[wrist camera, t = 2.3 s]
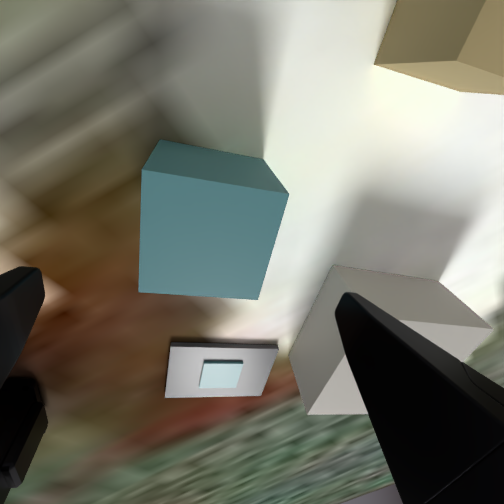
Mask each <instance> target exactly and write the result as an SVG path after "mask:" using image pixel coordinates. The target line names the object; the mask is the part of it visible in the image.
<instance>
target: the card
mask: <svg viewBox="0 0 504 504" xmlns="http://www.w3.org/2000/svg"><path fill="white" fill-rule="evenodd" d="M278 350H279V348H278V345H261V344H222V343H182V342H171V348H170V357H169V366H168V375H167V384H166V393H165V398H179V397H226V396H261V394H262V391H263V389H264V386H265V383H266V381H267V378H268V376H269V373H270V371H271V368H272V365H273V363H274V360H275V358H276V355H277V353H278Z"/></svg>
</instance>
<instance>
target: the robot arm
mask: <svg viewBox="0 0 504 504" xmlns="http://www.w3.org/2000/svg"><path fill="white" fill-rule="evenodd" d="M44 298H45V290H44V284H43V279H42V273H41V271H40V269H38V268H36V267H24V266H21V267H17V268H15V269H13V270H10V271H8V272H6V273H3V274H1V275H0V504H4V502H5V500H6V498H7V495H8V493H9V491H10V489H11V488H17V487H18V486H19V485H20V484H22V482H23V480H24V478H25V475H26V473H27V471H28V468H29V466H30V464H31V461H32V459H33V457H34V455H35V452H36V450H37V448H38V445H39V443H40V441H41V438H42V436H43V434H44V433H45V431H46V429H47V426H48V425H47V424H48V419H47V415H46V411H45V407H44V404H43V403H42V402H41V398H40V394H39V390H38V386H37V383H36V381H34V380H32V379H6V378H7V377H8V375H9V373H10V372H11V370H12V368H13V366H14V365H15V363H16V361H17V359H18V357H19V356H20V354H21V352H22V350H23V348H24V345H25V343H26V341H27V339H28V336H29V334H30V332H31V329H32V327H33V325H34V322H35V320H36V318H37V315H38V313H39V311H40V308H41V306H42V304H43V301H44ZM335 319H336V323H337V327H338V330H339V334H340V337H341V341H342V345H343V348H344V352H345V355H346V358H347V361H348V364H349V366H350V369H351V371H352V374H353V376H354V379H355V382H356V384H357V387H358V389H359V392H360V394H361V397H362V400H363V402H364V405H365V407H366V410H367V412H368V415H369V418H370V420H371V423H372V425H373V428H374V430H375V433H376V436H377V438H378V441H379V443H380V446H381V448H382V451H383V454H384V456H385V459H386V461H387V464H388V466H389V469H390V472H391V474H392V477H393V479H394V482H395V484H396V487H397V490H398V492H399V495H400V497H401V500H402V502H403V504H504V388H503V387H501V386H500V385H498V384H496V383H495V382H493V381H491V380H490V379H488V378H487V377H485V376H484V375H482V374H480V373H479V372H477V371H476V370H474V369H473V368H471V367H470V366H468V365H467V364H465V363H464V362H460V360H459V359H457V358H456V357H454V356H453V355H451V354H450V353H448V352H447V351H445V350H443V349H442V348H440V347H439V346H437V345H436V344H434V343H433V342H431V341H430V340H428V339H427V338H425V337H424V336H422V335H420V334H419V333H417V332H416V331H414V330H413V329H411V328H410V327H408V326H407V325H405V324H404V323H402V322H401V321H399V320H398V319H396V318H394V317H393V316H391V315H390V314H388V313H387V312H385V311H384V310H382V309H381V308H379V307H378V306H376V305H375V304H373V303H371V302H370V301H368V300H367V299H365V298H364V297H362V296H361V295H359V294H358V293H354V292H345V293H344V294H343V295H342V297H341V299H340V301H339V303H338V305H337V307H336V309H335Z"/></svg>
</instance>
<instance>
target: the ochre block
mask: <svg viewBox="0 0 504 504" xmlns="http://www.w3.org/2000/svg"><path fill="white" fill-rule="evenodd" d="M374 65H377V66H380V67H383V68H386V69H390V70H393V71H396V72H399V73H402V74H405V75H409V76H412V77H415V78H418V79H421V80H424V81H428V82H431V83H434V84H437V85H440V86H444V87H447V88H450V89H453V90H456V91H459V92H471V93H484V94H498V95H504V0H397V3H396V6H395V8H394V11H393V14H392V16H391V19H390V22H389V25H388V27H387V30H386V33H385V35H384V38H383V41H382V44H381V46H380V49H379V52H378V54H377V57H376V60H375V63H374Z"/></svg>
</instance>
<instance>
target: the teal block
mask: <svg viewBox="0 0 504 504" xmlns="http://www.w3.org/2000/svg"><path fill="white" fill-rule="evenodd" d="M288 197H289V193H288V192H287V190H286V189H285V188H284V186H283V185H282V184H281V182H280V181H279V180H278V178H277V177H276V176H275V174H274V173H273V172H272V170H271V169H270V168H269V166H268V165H267V164H266V162H265V161H264V160H263V159H259V158H254V157H249V156H243V155H238V154H233V153H228V152H223V151H218V150H213V149H207V148H202V147H197V146H192V145H187V144H182V143H176V142H171V141H166V140H161V139H160V140H159V142H158V143H157V145H156V147H155V148H154V150H153V152H152V153H151V155H150V157H149V158H148V160H147V162H146V163H145V165H144V167H143V168H142V183H141V221H140V259H139V292H145V293H160V294H175V295H190V296H205V297H221V298H236V299H251V300H258V297H259V294H260V291H261V287H262V284H263V281H264V277H265V274H266V271H267V267H268V264H269V260H270V257H271V254H272V250H273V247H274V244H275V240H276V237H277V234H278V230H279V227H280V224H281V220H282V217H283V214H284V210H285V207H286V204H287V200H288Z"/></svg>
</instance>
